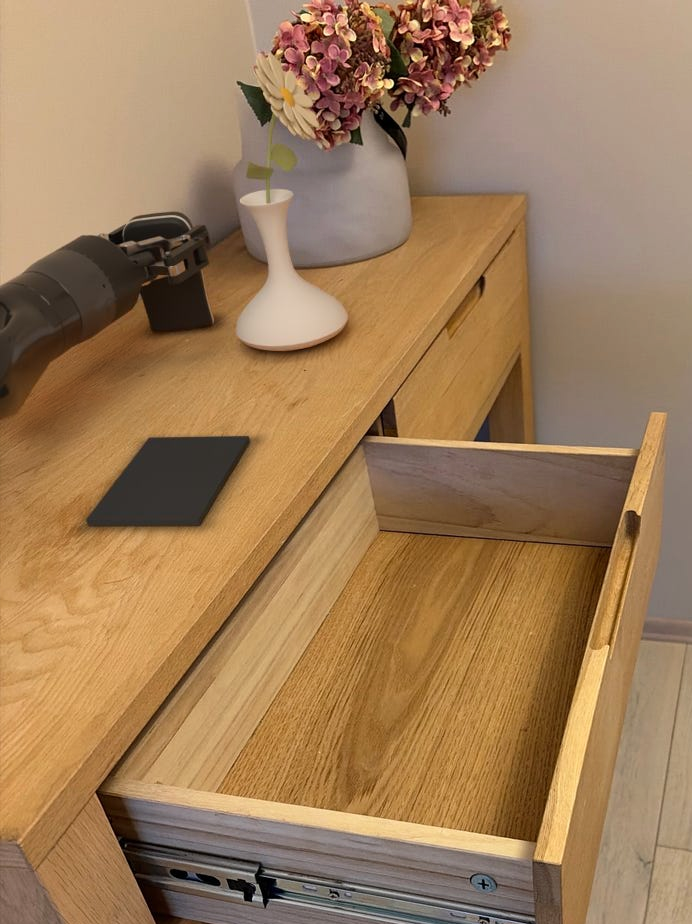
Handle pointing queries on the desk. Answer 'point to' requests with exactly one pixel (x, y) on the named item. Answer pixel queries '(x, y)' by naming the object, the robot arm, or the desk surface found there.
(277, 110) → the flower in vase
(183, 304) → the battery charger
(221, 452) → the mat
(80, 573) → the desk surface
